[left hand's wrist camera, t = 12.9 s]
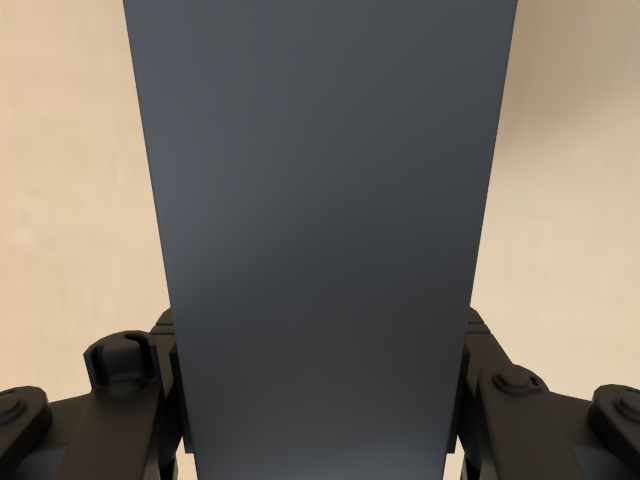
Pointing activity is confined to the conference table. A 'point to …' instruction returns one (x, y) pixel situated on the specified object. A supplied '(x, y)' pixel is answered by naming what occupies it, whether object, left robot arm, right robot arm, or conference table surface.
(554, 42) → the conference table surface
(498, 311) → the conference table surface
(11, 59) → the conference table surface
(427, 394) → the bar
